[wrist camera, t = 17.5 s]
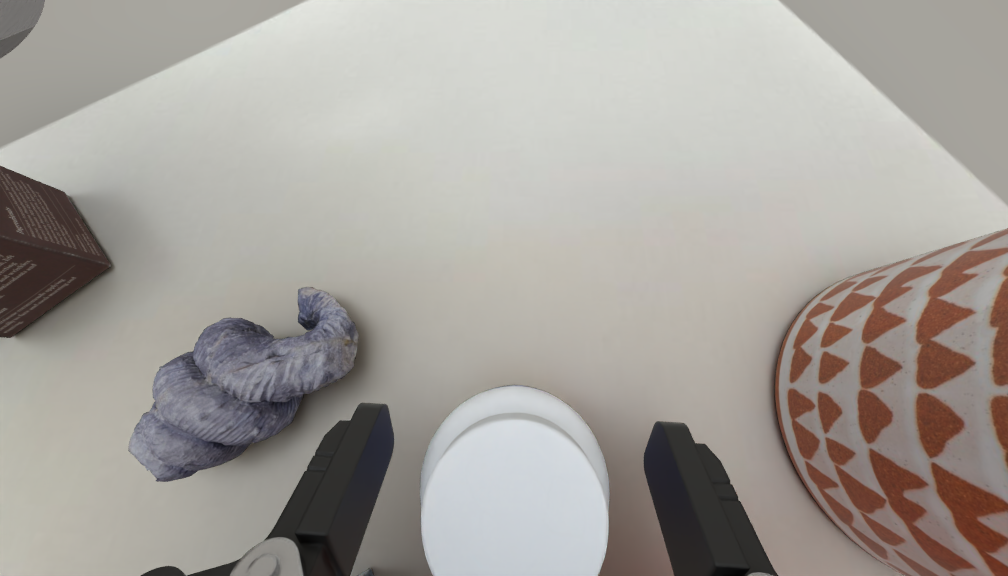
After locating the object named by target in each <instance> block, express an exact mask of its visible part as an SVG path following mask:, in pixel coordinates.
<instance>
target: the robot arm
mask: <svg viewBox="0 0 1008 576" xmlns="http://www.w3.org/2000/svg"><path fill="white" fill-rule="evenodd" d="M393 447H394V433H393V429H392V424H391V419H390V414H389V409H388V406H387V405H386V404H375V403H361V404H359V405H358V407H357V409H356V410H355V412H354V414H353V416H352V418H351V420H350V421H342V420H340V421H339V422H338V423H337V424H336V425H335V426H334V427H333V428H332V429H331V430H330V431H329V432H328V433H327V434H326V435H325V436H324V438H323V440H322V441H321V443H320V445H319V447H318V449H317V450H316V452H315V456H313V458H312V460H311V461H310V463H309V465H308V467H307V471H305V472H304V474H303V476H302V478H301V480H300V481H299V483H298V485H297V487H296V489H295V490H294V492H293V494H292V496H291V498H290V499H289V501H288V503H287V505H286V507H285V509H284V510H283V512H282V514H281V516H280V518H279V519H278V521H277V523H276V525H275V527H274V528H273V530H272V531H271V533H270V534H269V535H268V537H267V538H266V539H265V540H264V541H263V542H261V543H259V544H258V545H256V546H254V547H253V548H252V549H250V550H249V551H248V552H247V553H246V554H245V555H244V556H243V557H242V558H241V559H239V560H237V561H235V562H232V563H229V564H226V565H222V566H219V567H215V568H212V569H208V570H205V571H201V572H197V573H194V574H190V575H187V576H350V574H351V571H352V568H353V565H354V563H355V560H356V557H357V554H358V551H359V548H360V545H361V543H362V540H363V537H364V534H365V531H366V528H367V525H368V523H369V520H370V517H371V514H372V511H373V508H374V505H375V502H376V500H377V497H378V494H379V491H380V488H381V485H382V482H383V480H384V477H385V474H386V471H387V468H388V465H389V462H390V460H391V456H392V453H393ZM644 471H645V475H646V479H647V482H648V486H649V489H650V493H651V496H652V500H653V503H654V507H655V510H656V513H657V517H658V520H659V524H660V527H661V531H662V534H663V538H664V541H665V544H666V548H667V551H668V555H669V558H670V562H671V565H672V569H673V572H674V576H778V575H777V573H776V572H775V570H774V569H773V567H772V565H771V563H770V561H769V559H768V557H767V555H766V553H765V551H764V549H763V547H762V545H761V543H760V541H759V539H758V537H757V535H756V532H755V530H754V528H753V526H752V524H751V522H750V520H749V518H748V516H747V514H746V512H745V510H744V508H743V506H742V504H741V502H740V501H739V500H738V496H737V494H736V492H735V490H734V488H733V486H732V485H731V484H730V479H729V477H728V475H727V473H726V471H725V469H724V467H723V465H722V463H721V461H720V460H719V459H718V458H717V457H716V456H715V455H714V453H713V452H712V451H711V450H710V449H709V448H708V447H707V446H706V445H705V444H697V443H695V442H694V440H693V438H692V436H691V433H690V431H689V429H688V427H687V426H686V425H685V424H684V423H676V422H659V421H658V422H656V423H655V424H654V427H653V430H652V433H651V435H650V438H649V441H648V444H647V447H646V449H645V453H644ZM141 576H186V575H185V574H184V573H183V572H182V571H181V570H180V569H178V568H176V567H172V566H165V567H160V568H156V569H153V570H151V571H149V572H147V573H145V574H143V575H141Z"/></svg>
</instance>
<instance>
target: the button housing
mask: <svg viewBox="0 0 1008 576" xmlns="http://www.w3.org/2000/svg"><path fill="white" fill-rule="evenodd" d="M358 576H374V575H373V572H372V570H371V568H369V569H368V570H366V571H364V572H363V573H361V574H359V575H358Z"/></svg>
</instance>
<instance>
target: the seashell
mask: <svg viewBox="0 0 1008 576" xmlns="http://www.w3.org/2000/svg"><path fill="white" fill-rule="evenodd" d="M298 306H299V311H300V312H299V315H298V323H300V324H301V325H302V326H303V327H304V328H305V329H306V330H312V329H313V330H312V331H310V332H306V333H305V335H301V336H297V337H287V338H284V339H274V338H273V337H274V336H272V335H271V334H270V333H269V332H268V331H267V330H266V329H265V328H264V327H262V326H260V325H256V324H254V323H253V322H250V321H247V320H245V319H242V318H224V319H222V320H220V321H219V322H217V323H215V324H213V325H211V326H209V327H207V328H206V329H204V330H203V333H202V334H201V335H200V337H199V339H198V342H197V343H196V344H195V347H194V351H193V352H187V353H185V354H183V355H181V356H179V357H177V358H175V359H173V360H171V361H170V362H168V363H166V364H165V365H164V366H162V367H160V369H159V371H158V372H157V374H156V377H155V379H154V384H153V398H154V399H155V403H154V404H153V406H152V408H151V410H150V411H149V412H146V413H144V414H143V415H142V417H141V419H140V422H139V423H138V424H137V425H136V427H135V429H134V432H133V434H132V436H131V439H130V441H129V452H130V453H131V454H132V455H134V456H135V457H136V459H137V460H138V461H139V462H140V463H141V464H142V465H144V466H145V467H146V469H147V471H148V470H150V471H151V473H152V474H153V475H154V476H155V477H156V478H157V480H156V481H163V482H168V481H173V480H177V479H182V478H186V477H189V476H191V475H193V474H194V473H196V472H197V471H198V470H203V469H207V468H211V467H215V466H218V465H221V464H223V463H225V462H228V461H230V460H232V459H234V458H236V457H238V456H239V455H241V454H242V453H243V452H244V451H245V450H246V448H247V447H248V446H249V445H250V444H251V443H256V442H259V441H262V440H265V439H267V438H269V437H271V436H273V435H276V434H278V433H279V432H280V431H281V430H282V429H283V428H285V427H286V426H288V425H289V424H291V423H292V421H293V418H294V416H295V413H296V411H297V409H298V406H299V404H300V402H301V400H302V399H303V396H302V395H303V394H304V393H306V394H309V393H311V392H313V391H315V390H316V391H319V389H320V388H321V387H327V386H328V385H329V384H330V383H334V382H336V381H337V380H338V379H342V378H343V377H344V376H345V375H346V374H347V373H349V372H350V370H351V368H353V367H354V359H356V357H355V355H356V352H357V345H358V332H357V330H356V326H355V323H354V322H352V321H351V319H350V317H349V315H348V314H347V312H346V310H345V308H342V307H341V306H340V304H339V303H338V302H337V300H336V299H335V298H334V297H333V296H331V295H330V294H329V293H327V292H325V291H322V290H316V289H314V288H313V287H305V288H301V289H299V290H298Z"/></svg>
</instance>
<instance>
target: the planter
mask: <svg viewBox="0 0 1008 576" xmlns="http://www.w3.org/2000/svg"><path fill="white" fill-rule="evenodd" d="M775 399H776V409H777V415H778V420H779V425H780V429H781V432H782V436H783V439H784V442H785V445H786V448H787V450H788V453H789V455H790V457H791V460H792V462H793V464H794V466H795V468H796V470H797V472H798V474H799V476H800V477H801V479H802V481H803V483H804V484H805V486H806V487H807V489H808V491H809V492H810V494H811V495H812V496H813V498H814V499H815V501H816V502H817V503H818V505H819V506H820V507H821V508H822V510H823V511H824V512H825V513H826V514H827V515H828V517H829V518H830V519H831V520H832V521H833V522H834V523H835V524H836V525H837V526H838V527H839V528H840V529H841V530H842V531H843V532H844V533H845V534H846V535H847V536H848V537H849V538H850V539H851V540H853V541H854V542H855V543H856V544H857V545H859V546H860V547H861V548H862V549H864V550H865V551H866V552H868V553H869V554H870V555H872V556H873V557H875V558H876V559H878V560H879V561H881V562H882V563H884V564H885V565H887V566H889V567H891V568H892V569H894V570H896V571H898V572H899V573H901V574H903V575H905V576H1008V228H1007V229H1004V230H1001V231H997V232H994V233H991V234H987V235H984V236H981V237H978V238H974V239H971V240H968V241H964V242H961V243H958V244H955V245H951V246H948V247H945V248H942V249H938V250H935V251H932V252H928V253H925V254H922V255H919V256H915V257H912V258H909V259H905V260H902V261H899V262H896V263H892V264H889V265H886V266H882V267H879V268H876V269H873V270H869V271H866V272H863V273H860V274H857V275H854V276H851V277H848V278H846V279H844V280H841V281H839V282H837V283H835V284H833V285H832V286H830V287H828V288H827V289H825V290H824V291H822V292H821V293H820V294H818V295H817V296H816V297H815V298H813V299H812V300H811V301H810V302H809V303H808V304H807V305H806V306H805V307H804V308H803V310H802V311H801V312H800V313H799V314H798V316H797V317H796V319H795V320H794V322H793V323H792V325H791V327H790V328H789V330H788V332H787V334H786V337H785V339H784V341H783V344H782V347H781V350H780V354H779V358H778V363H777V368H776V378H775Z"/></svg>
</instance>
